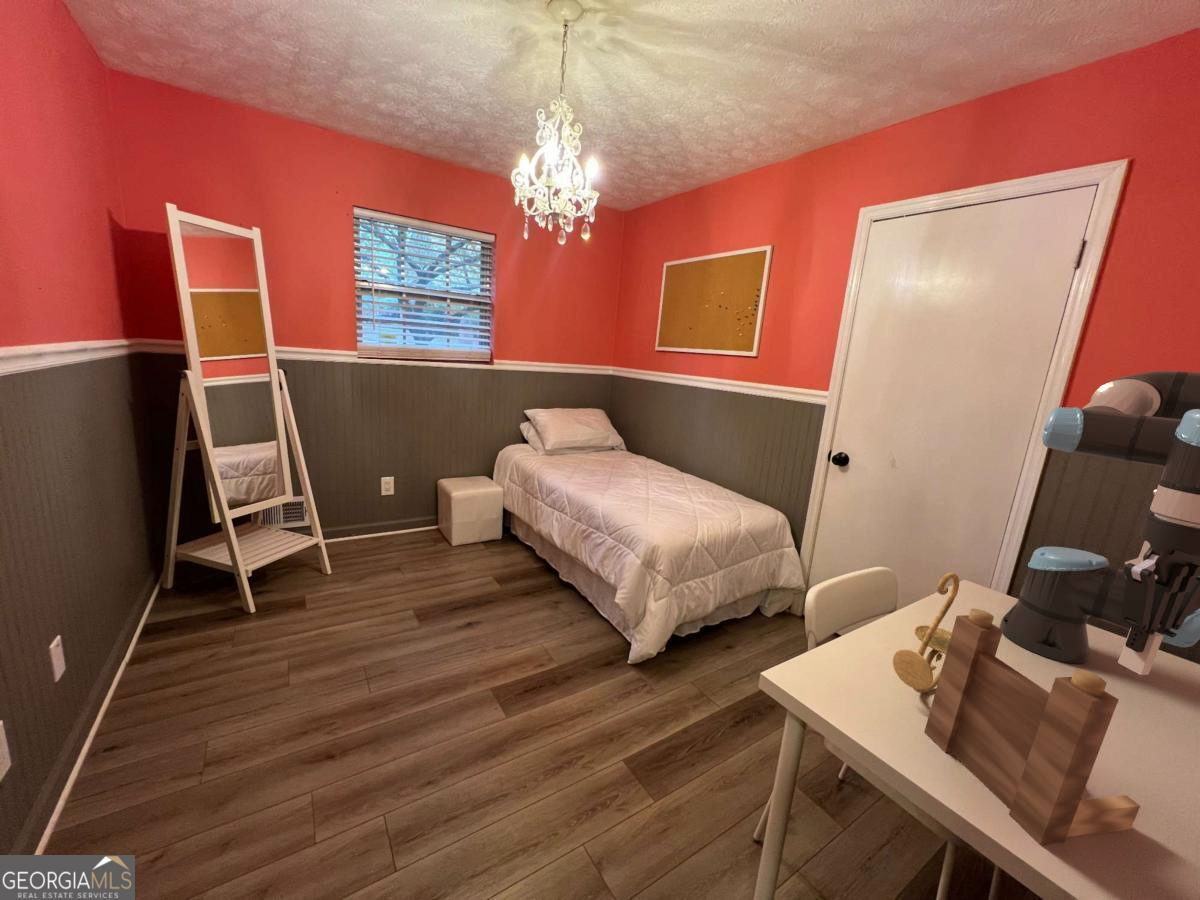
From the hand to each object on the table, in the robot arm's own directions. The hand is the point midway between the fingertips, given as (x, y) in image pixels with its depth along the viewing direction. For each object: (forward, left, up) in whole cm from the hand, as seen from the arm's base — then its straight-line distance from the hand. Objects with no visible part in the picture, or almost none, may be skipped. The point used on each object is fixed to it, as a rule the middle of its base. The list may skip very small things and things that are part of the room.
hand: (1132, 668), depth 68 cm
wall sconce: (+14, -18, -19) cm, 29 cm away
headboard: (+15, 0, -18) cm, 24 cm away
